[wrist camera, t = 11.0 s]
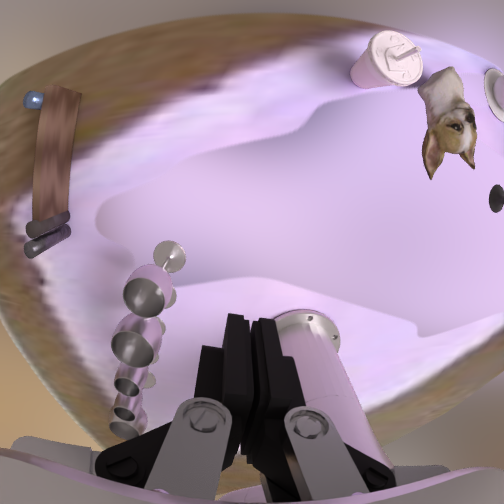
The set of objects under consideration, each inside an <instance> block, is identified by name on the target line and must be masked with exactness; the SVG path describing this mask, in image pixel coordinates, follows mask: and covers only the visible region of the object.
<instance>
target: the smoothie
mask: <svg viewBox="0 0 504 504" xmlns="http://www.w3.org/2000/svg"><path fill="white" fill-rule="evenodd" d="M420 51H421V48H420V47H419V46H415V45H414V44H413V43H412V42H411V41H410V40H409V39H408V38H407V37H405V36H404V35H402V34H400V33H398V32H395V31H382V32H380V33H378V34H376V35H374V36H373V37H372V38H371V39H370V41H369V43H368V48H367V49H366V50H365V51H364V53H363V54H362V55H361V56H360V58H359V59H358V60H357V61H356V63H355V64H354V65H353V66H352V68H351V70H350V76H351V79H352V81H353V82H354V83H355V84H356V85H357V86H358V87H360V88H363V89H369V88H375V87H382V86H389V85H396V86H408V85H410V84H412V83H415V82H416V81H417V80H418V79H419V78H420V76H421V74H422V71H423V63H422V58H421V55H420V53H419V52H420Z"/></svg>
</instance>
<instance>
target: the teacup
mask: <svg viewBox="0 0 504 504" xmlns="http://www.w3.org/2000/svg"><path fill="white" fill-rule="evenodd" d="M484 89H485V94H486V97H487V101H488V103H489V106H490V108H491V110H492V111H493V113H494V114H495V116H496V117H497V118H498V119H499V120H501V121H502V122H504V75H503V74H502V73H501V72H500V71H498V70H496V69H489V70H488V71H487V72H486V74H485V78H484Z"/></svg>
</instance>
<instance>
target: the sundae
mask: <svg viewBox="0 0 504 504" xmlns="http://www.w3.org/2000/svg"><path fill="white" fill-rule="evenodd" d="M489 205H490V208H491V210H492V211H493V212H495V213H497V212H499V211H500V210H501V209H502V207H503V205H504V190H503V188H502V187H501V186H500V185H495V186H493V188H492V189H491V191H490V195H489Z"/></svg>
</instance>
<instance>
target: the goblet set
mask: <svg viewBox="0 0 504 504" xmlns="http://www.w3.org/2000/svg"><path fill="white" fill-rule="evenodd" d="M153 257H154V261H155V264H156V265H154V264H148V265H144V266H141V267H139V268H138V269H136V270H135V271H134V272H133V273H132V274H131V275H130V277H129V278H128V280H127V282H126V284H125V287H124V290H123V299H124V302H125V304H126V306H127V308H128V309H129V310H130V311H131V312H132V313H130V314H128V315H127V316H125V317H124V318H123V319H122V320H121V321H120V322H119V324H118V325H117V327H116V329H115V331H114V333H113V336H112V340H111V348H112V351H113V353H114V355H115V356H116V357H117V358H118V359H119V360H120V361H121V363H120V365H119V367H118V369H117V371H116V375H115V379H114V386H115V388H116V389H117V391H118V392H119V393H118V395H117V397H116V399H115V403H114V406H113V407H112V408H111V410H110V413H109V428H110V430H111V431H112V432H113V433H114V434H115V435H117V436H118V437H120V438H123V439H126V440H130V439H133V438H135V437H137V436H140V435H142V434H143V433H144V431H145V429H146V427H147V422H148V420H147V415H146V413H145V411H144V410H143V408H142V407H141V406H142V399H143V397H142V389H143V388H151V387H153V386H154V385H155V384H156V379H155V377H154V375H153V374H152V373H151V372H149V371H148V366H149V365H150V364H154V363H156V362H157V361H158V359H159V355H158V352H159V350H160V347H161V343H162V335H163V334H164V333H165V329H166V328H165V324H164V322H163V321H162V320H161V319H160V318H158V317H156V316H157V315H159V314H160V313H161V312H162V311H163V310H164V309H167V308H169V307H171V306H172V305H173V304H174V303H175V301H176V297H177V295H176V291H175V288H174V287H173V285H172V280H171V277H170V275H169V273H174V272H177V271H179V270H181V268H183V266H184V265H185V262H186V254H185V251H184V249H183V248H182V247H181V246H180V245H179V244H178V243H176V242H174V241H163V242H161V243H159V244H158V245H157V246H156V248H155V250H154V254H153Z"/></svg>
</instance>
